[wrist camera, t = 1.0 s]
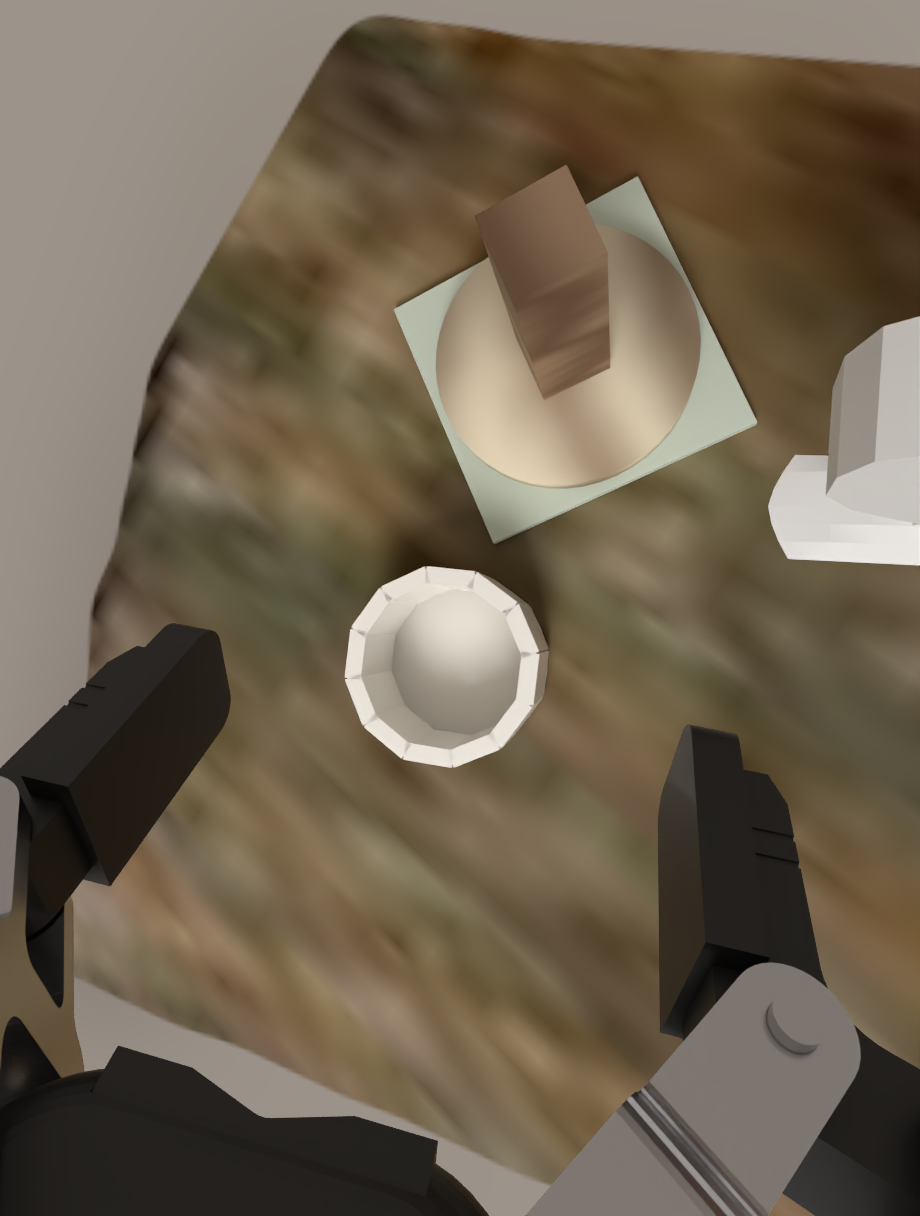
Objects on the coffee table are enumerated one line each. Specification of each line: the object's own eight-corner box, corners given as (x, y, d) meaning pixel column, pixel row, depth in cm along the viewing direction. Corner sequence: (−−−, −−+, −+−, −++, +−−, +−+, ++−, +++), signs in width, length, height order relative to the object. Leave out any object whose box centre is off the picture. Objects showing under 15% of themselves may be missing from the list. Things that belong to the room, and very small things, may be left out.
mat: (637, 182, 35) (637, 176, 35) (755, 425, 33) (757, 422, 33) (396, 313, 38) (393, 309, 37) (494, 544, 36) (493, 543, 36)
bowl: (507, 548, 36) (489, 536, 31) (575, 709, 35) (569, 722, 30) (358, 616, 38) (319, 614, 33) (419, 771, 37) (388, 793, 32)
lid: (632, 189, 35) (641, -27, 23) (742, 417, 33) (809, 305, 22) (405, 313, 37) (311, 172, 26) (498, 530, 36) (442, 482, 24)
